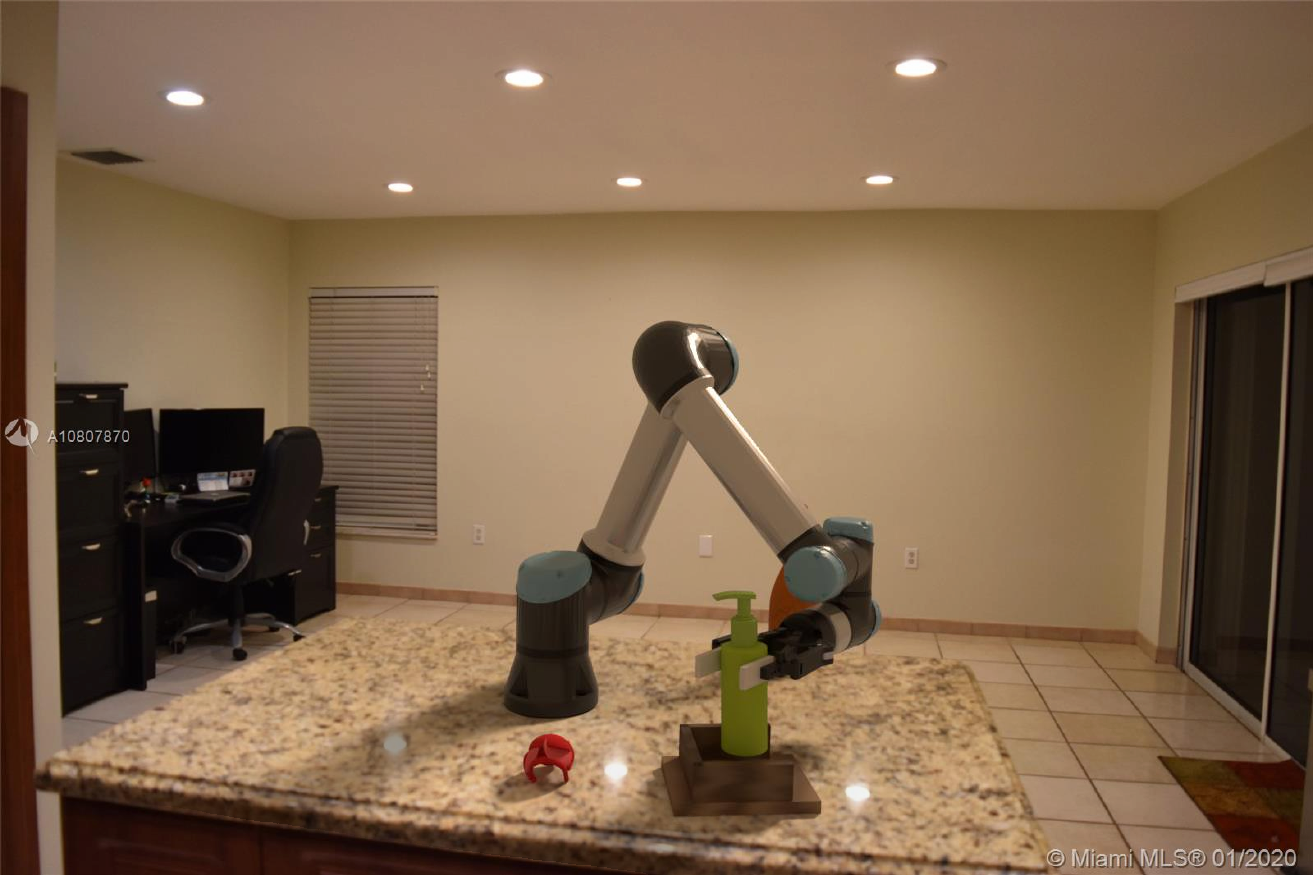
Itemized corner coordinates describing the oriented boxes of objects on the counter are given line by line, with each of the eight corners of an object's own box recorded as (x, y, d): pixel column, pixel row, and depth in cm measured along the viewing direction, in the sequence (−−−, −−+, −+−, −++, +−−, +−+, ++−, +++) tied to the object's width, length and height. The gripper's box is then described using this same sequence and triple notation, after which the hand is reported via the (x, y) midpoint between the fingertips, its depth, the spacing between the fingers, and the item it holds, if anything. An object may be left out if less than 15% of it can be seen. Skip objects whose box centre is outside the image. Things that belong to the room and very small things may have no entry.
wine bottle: (819, 672, 164) (825, 508, 163) (765, 667, 166) (770, 505, 165) (820, 656, 174) (826, 501, 172) (769, 652, 176) (774, 498, 174)
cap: (580, 766, 114) (584, 727, 119) (535, 753, 113) (541, 714, 117) (558, 800, 118) (562, 761, 123) (514, 789, 117) (521, 749, 122)
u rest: (673, 816, 108) (675, 767, 108) (661, 766, 122) (662, 723, 122) (821, 813, 110) (822, 765, 110) (791, 764, 124) (793, 721, 123)
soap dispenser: (710, 740, 118) (709, 587, 117) (762, 738, 119) (762, 586, 118) (716, 757, 112) (716, 597, 111) (771, 755, 113) (771, 596, 112)
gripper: (874, 675, 123) (785, 722, 105) (756, 647, 135) (658, 685, 117) (875, 620, 123) (787, 658, 105) (757, 598, 134) (659, 628, 117)
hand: (719, 672), depth 111 cm, fingers closed on soap dispenser, 6 cm apart
